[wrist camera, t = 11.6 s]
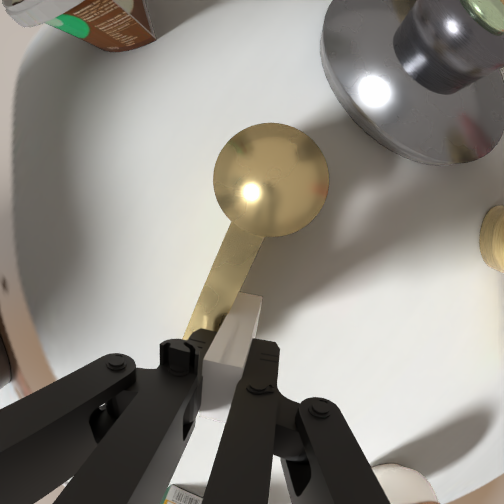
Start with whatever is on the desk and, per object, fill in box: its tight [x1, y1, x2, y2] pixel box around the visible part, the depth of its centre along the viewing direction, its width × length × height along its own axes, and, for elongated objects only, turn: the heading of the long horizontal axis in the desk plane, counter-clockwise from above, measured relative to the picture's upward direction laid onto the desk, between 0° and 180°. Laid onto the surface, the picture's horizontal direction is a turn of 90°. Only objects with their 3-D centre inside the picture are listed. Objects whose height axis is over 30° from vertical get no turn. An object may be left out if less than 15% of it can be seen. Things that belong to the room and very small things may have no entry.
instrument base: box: [320, 0, 504, 166], centre depth 8 cm, size 18×18×9 cm
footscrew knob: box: [182, 123, 329, 340], centre depth 14 cm, size 14×4×5 cm, turn 156°
